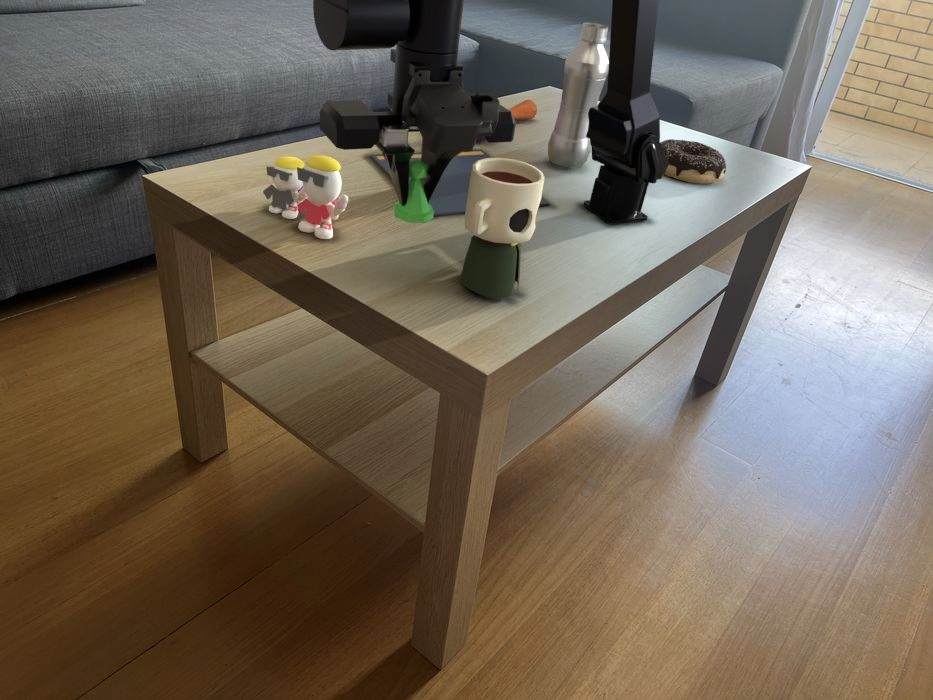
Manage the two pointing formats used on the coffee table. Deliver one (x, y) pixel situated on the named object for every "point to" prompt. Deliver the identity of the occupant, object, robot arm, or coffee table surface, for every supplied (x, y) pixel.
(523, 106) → the maraca
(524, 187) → the character mug
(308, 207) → the toy figures
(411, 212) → the game piece
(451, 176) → the napkin
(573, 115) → the silver metal bottle
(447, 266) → the coffee table surface
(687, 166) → the donut
